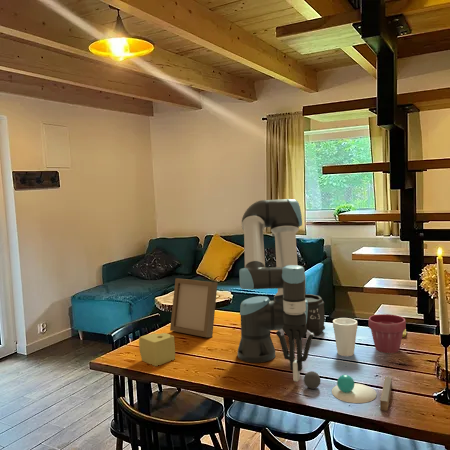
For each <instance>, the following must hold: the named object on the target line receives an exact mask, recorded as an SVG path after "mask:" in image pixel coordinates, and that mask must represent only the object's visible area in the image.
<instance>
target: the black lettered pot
mask: <svg viewBox="0 0 450 450" xmlns="http://www.w3.org/2000/svg"><path fill="white" fill-rule="evenodd" d="M305 299H306V300H307V301H308V314H307V323H306V326H307V328H308V331H310V332H311V333H312V332H313V333H314V334H315V335H314V336H313V337H319V336H320V335H321V334H323V333H324V330H326V327H325V318H326V317H325V302H324V300H323V298H322V297H321V296H320V295H316V294H310V293H308V294H307V293H305ZM306 335H307V334H305V335H304V336H303V338H307V337H306Z"/></svg>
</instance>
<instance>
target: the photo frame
mask: <svg viewBox="0 0 450 450" xmlns="http://www.w3.org/2000/svg"><path fill="white" fill-rule="evenodd" d="M174 281H175V282H174V290H173V298H172V299H173V300H172V309H171V318H170V319H171V320H170V327H169V330H170V331H172V332H175V333H176V332H177V333H182V334H187V335H193V336H196V337H202V338H213V333H214V323H215V313H216V312H215V311H216V302H217V293H218V292H217V291H218V282H213V281H206V280H205V281H204V280H195V279H186V278H176V277H175V280H174Z"/></svg>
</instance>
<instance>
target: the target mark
mask: <svg viewBox="0 0 450 450" xmlns="http://www.w3.org/2000/svg"><path fill="white" fill-rule="evenodd" d="M331 393H332V396H333V397H334V398H336V399H337V400H340V401H342V402H345V403H350V404H352V403H353V404H364V403H365V404H366V403H370V402H371V401H373V400H375V399H376V398H377V395H378V394H377V391H376V390H375V389H374V388H372V387H370V386H368V385H365V384H362V383H356V382H354V388H353V390H352V391H350V392H347V393H346V392H342V391H341V390H340V389H339V388H338V386H337V384H336V385H335V386H333V387H332V389H331Z"/></svg>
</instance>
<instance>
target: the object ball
mask: <svg viewBox="0 0 450 450" xmlns="http://www.w3.org/2000/svg"><path fill="white" fill-rule="evenodd" d="M336 381H337V382H336V385H337V386H338V388H339V389H340V390H341V391H342V392H346V393H347V392H350V391H352V390H353V388H354V383H355V380H354V378H353V377H352V376H350V375H348V374H342V375H340V376H339V377H338V378H337V380H336Z"/></svg>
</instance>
